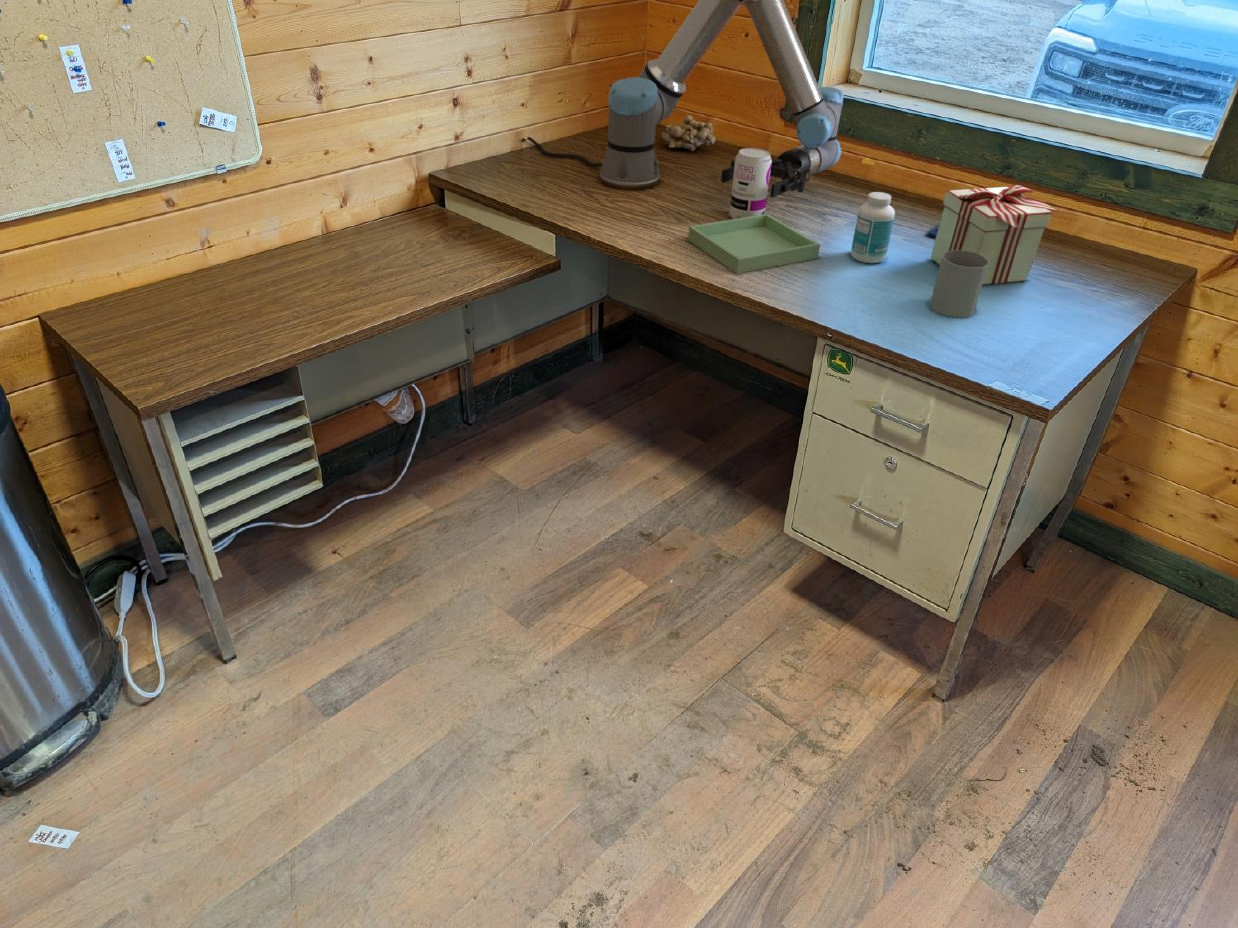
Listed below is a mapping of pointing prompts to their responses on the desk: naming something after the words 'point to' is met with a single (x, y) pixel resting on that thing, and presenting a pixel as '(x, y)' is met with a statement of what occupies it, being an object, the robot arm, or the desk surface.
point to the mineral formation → (689, 134)
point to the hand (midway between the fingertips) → (747, 183)
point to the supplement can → (750, 183)
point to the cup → (958, 283)
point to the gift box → (993, 229)
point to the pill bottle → (873, 229)
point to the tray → (753, 243)
